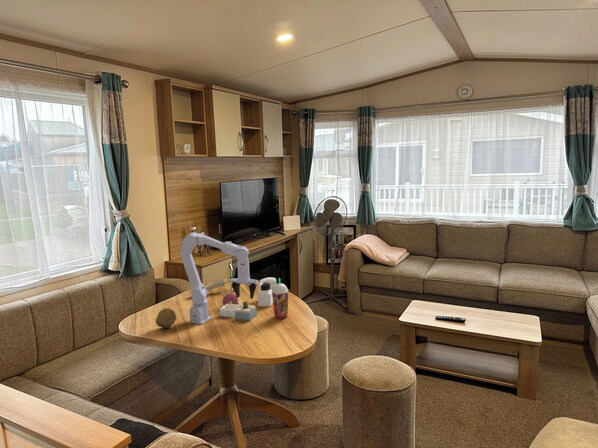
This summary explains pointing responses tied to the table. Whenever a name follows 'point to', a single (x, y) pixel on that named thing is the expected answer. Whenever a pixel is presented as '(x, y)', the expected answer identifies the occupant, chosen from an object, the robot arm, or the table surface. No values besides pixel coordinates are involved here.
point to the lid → (245, 308)
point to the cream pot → (228, 310)
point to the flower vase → (218, 283)
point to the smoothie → (280, 300)
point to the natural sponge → (165, 318)
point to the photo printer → (269, 281)
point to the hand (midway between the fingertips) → (245, 297)
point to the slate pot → (245, 315)
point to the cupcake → (230, 299)
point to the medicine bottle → (264, 295)
